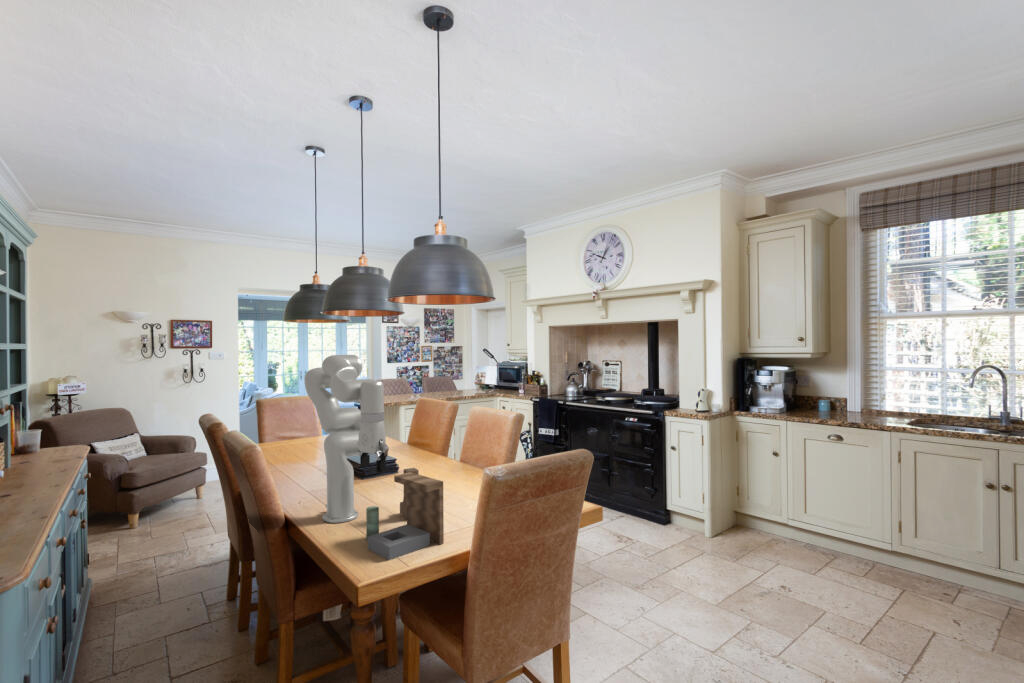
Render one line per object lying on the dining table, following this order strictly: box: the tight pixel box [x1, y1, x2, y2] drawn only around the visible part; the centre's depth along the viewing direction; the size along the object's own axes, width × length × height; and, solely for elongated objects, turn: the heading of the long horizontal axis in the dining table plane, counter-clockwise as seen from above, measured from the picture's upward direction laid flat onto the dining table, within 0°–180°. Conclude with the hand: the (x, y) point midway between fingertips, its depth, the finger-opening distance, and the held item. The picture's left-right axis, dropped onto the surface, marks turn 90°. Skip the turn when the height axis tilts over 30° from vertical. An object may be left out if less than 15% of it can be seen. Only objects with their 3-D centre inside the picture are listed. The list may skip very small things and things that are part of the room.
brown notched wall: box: [393, 472, 445, 545], centre depth 168 cm, size 18×6×20 cm, turn 47°
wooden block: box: [399, 467, 420, 520], centre depth 190 cm, size 9×4×18 cm, turn 31°
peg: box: [365, 505, 380, 541], centre depth 169 cm, size 4×4×10 cm
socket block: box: [367, 523, 431, 561], centre depth 161 cm, size 12×15×4 cm
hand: (372, 469), depth 169 cm, fingers open, 9 cm apart
